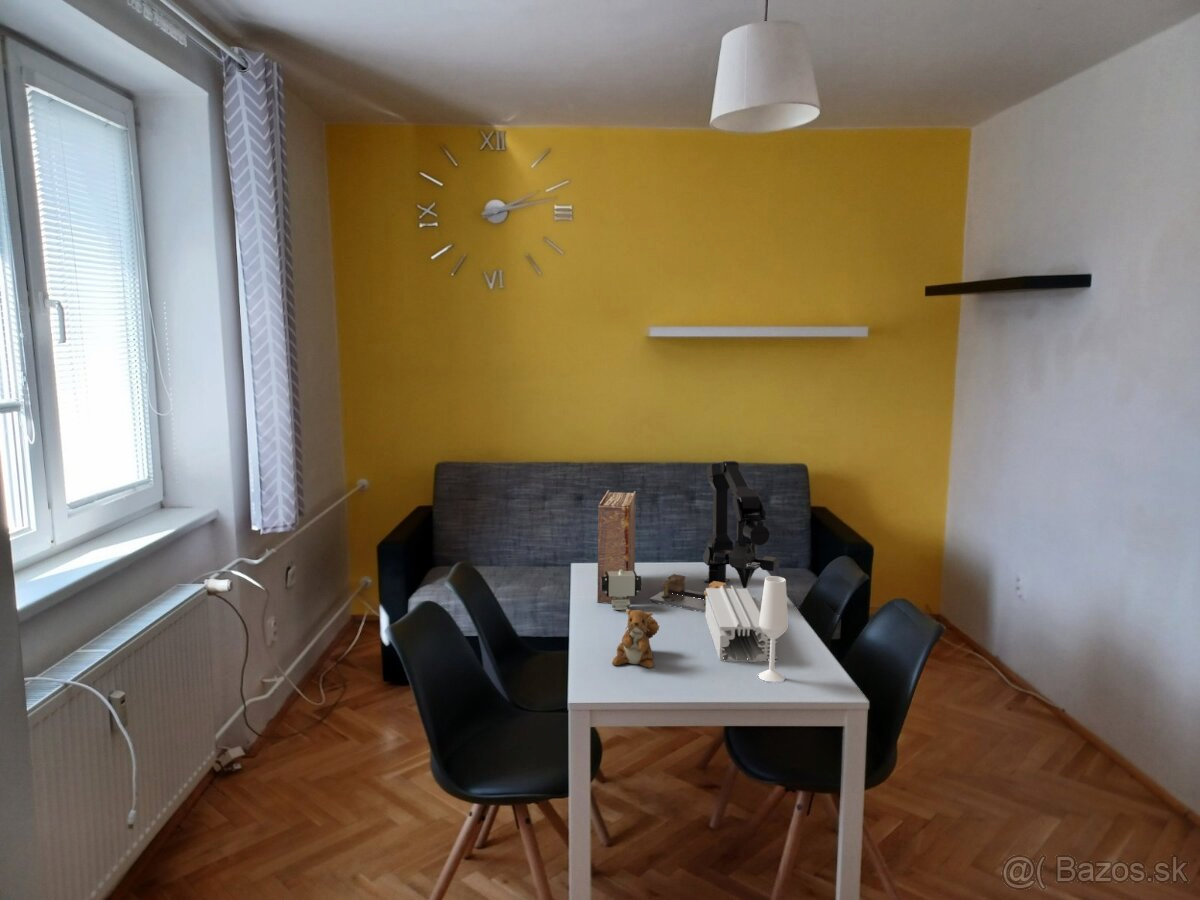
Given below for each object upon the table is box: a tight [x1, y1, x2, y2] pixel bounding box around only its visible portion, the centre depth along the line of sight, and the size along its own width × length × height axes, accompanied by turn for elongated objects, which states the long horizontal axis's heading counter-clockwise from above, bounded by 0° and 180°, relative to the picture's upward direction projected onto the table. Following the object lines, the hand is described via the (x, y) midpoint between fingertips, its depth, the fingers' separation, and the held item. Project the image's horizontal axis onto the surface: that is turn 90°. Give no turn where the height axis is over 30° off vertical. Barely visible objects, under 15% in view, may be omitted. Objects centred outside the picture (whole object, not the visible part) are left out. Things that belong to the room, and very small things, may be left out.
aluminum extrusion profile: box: [705, 585, 779, 662], centre depth 211 cm, size 14×31×10 cm, turn 179°
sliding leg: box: [703, 581, 727, 604], centre depth 238 cm, size 11×4×4 cm, turn 149°
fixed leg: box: [661, 573, 686, 596], centre depth 245 cm, size 11×4×4 cm, turn 149°
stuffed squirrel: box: [611, 608, 660, 669], centre depth 197 cm, size 10×14×13 cm
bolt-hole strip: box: [649, 591, 706, 613], centre depth 238 cm, size 8×24×1 cm, turn 59°
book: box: [597, 489, 637, 604], centre depth 249 cm, size 25×9×30 cm, turn 173°
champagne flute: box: [757, 575, 789, 682], centre depth 185 cm, size 7×7×24 cm
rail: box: [668, 588, 706, 600], centre depth 243 cm, size 3×28×2 cm, turn 59°
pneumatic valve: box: [600, 569, 643, 611], centre depth 233 cm, size 6×12×12 cm, turn 95°
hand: (744, 587), depth 236 cm, fingers closed
